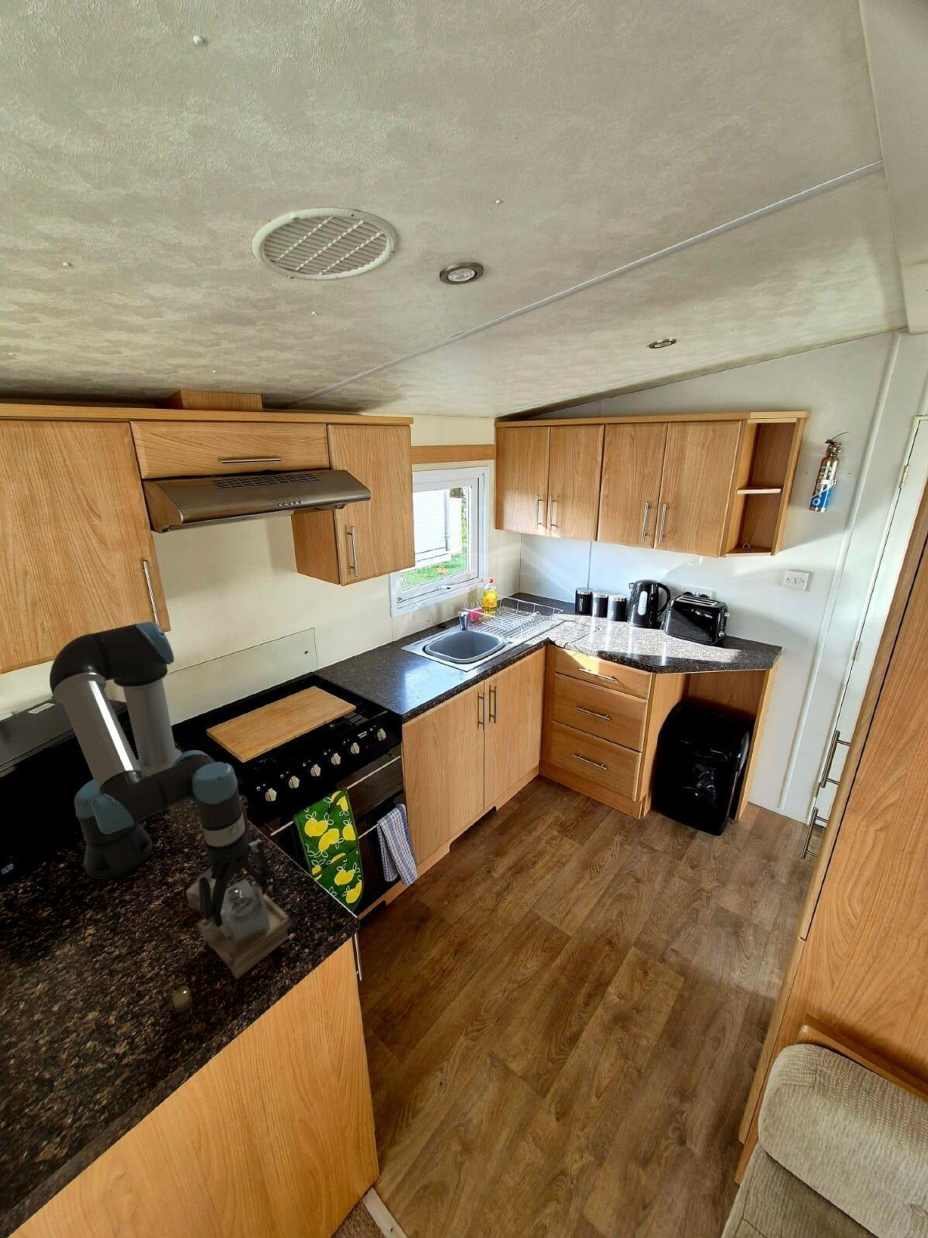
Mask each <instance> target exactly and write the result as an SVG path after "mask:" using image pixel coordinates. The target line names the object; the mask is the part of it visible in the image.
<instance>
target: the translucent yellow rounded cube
mask: <svg viewBox="0 0 928 1238" xmlns="http://www.w3.org/2000/svg"><path fill="white" fill-rule="evenodd" d="M171 999H172V1003H173V1006H174V1009H175V1012H176V1013H179V1014H180V1013H181V1014H182V1013H184V1012H186V1011H188V1010H189V1009H190V1008H191V1006H192V1004H193V997H192V993H191V990H190V987H189V986H187V985H183V986H180V987H179V988H177V989H176V990H175V991H174V992H173V994H172V997H171Z"/></svg>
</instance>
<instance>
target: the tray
mask: <svg viewBox="0 0 928 1238" xmlns="http://www.w3.org/2000/svg"><path fill="white" fill-rule="evenodd" d="M250 886H251V887H252V885H250ZM252 889H253V887H252ZM263 899H264V904H265V909H266V910H267V913H268V918H269V923H270V930H268V931H266V932H265V933H263V934H262V935H260V936H259V937H257V938H256V939H254V940H252V941H251V942H249V943H248V944H246V945H245V946H243V947H241V948H240V949H238V950H237V948H236V946H235V945H234V943H233V941H232V939H231V937H230V936H229V937H228V938H226V937H225V935H224V934H223V933H222V932H221V930H220V927H217V926H216V925H215V924H214V922H213V918H212V917H211V918H210V919H209V920H206V919H205V918H203V919H202V920H200V921H198V923H196V925H197V929H198V931H199V933H200V934H201V935H202V936H203V938H204V939H205V940H206V943H207V945H208V946H209V948H210V949H213V950H214V951H215V953H216V954H217V956H219V957H220V959H221V960H222V961H223V962H224V964H225V965H226V966H227V967H228V968H229V970H230V972H231V974H232V976H233V977H234V979H235V980H236V981H238V980H239V979H240V978H241V977H242V976H244V975H245V974H246V973H247V972H248V971H250V970H251V969H252V968H253V967H254V966H256V965H257V964H258V963H260V962H261V961H262V960H263V959H264V958H266V957H267V956H269V954H271V953H272V952H273V951H274V950H276V949H277V948H278V947H279V946H281V944H283V943H284V942H285V941H286V940H288V939H289V934H288V929H289V928H290V927H291V926H292V925H293V924H292V921H291V920H292V919H291V917H289V915H288V914H286V912H284V910H283V909H282V908H281V907H279V906H278V905H277V904H276V903H275V902H274V900H272V899H271V898H270V897H269V896H268V895H267V894H264V895H263Z"/></svg>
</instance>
